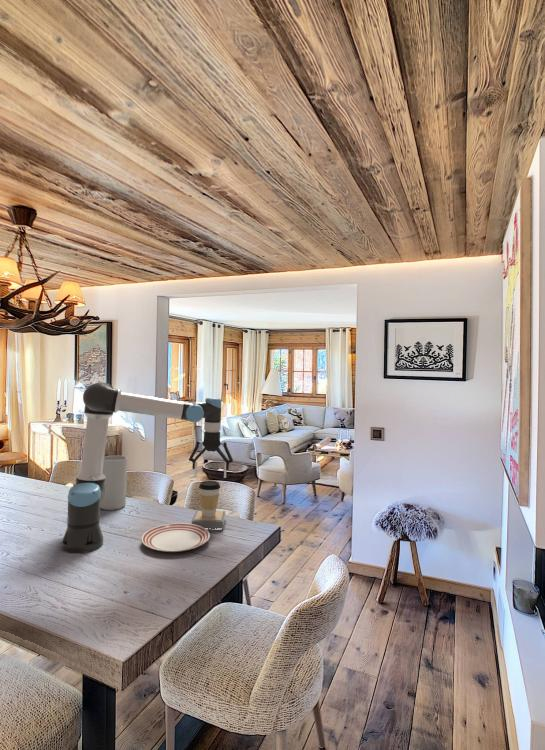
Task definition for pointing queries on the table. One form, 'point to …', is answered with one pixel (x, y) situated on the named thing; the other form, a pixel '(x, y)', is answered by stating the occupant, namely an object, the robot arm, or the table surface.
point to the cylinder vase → (114, 482)
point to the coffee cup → (209, 497)
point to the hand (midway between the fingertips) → (210, 476)
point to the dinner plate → (175, 537)
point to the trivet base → (209, 520)
